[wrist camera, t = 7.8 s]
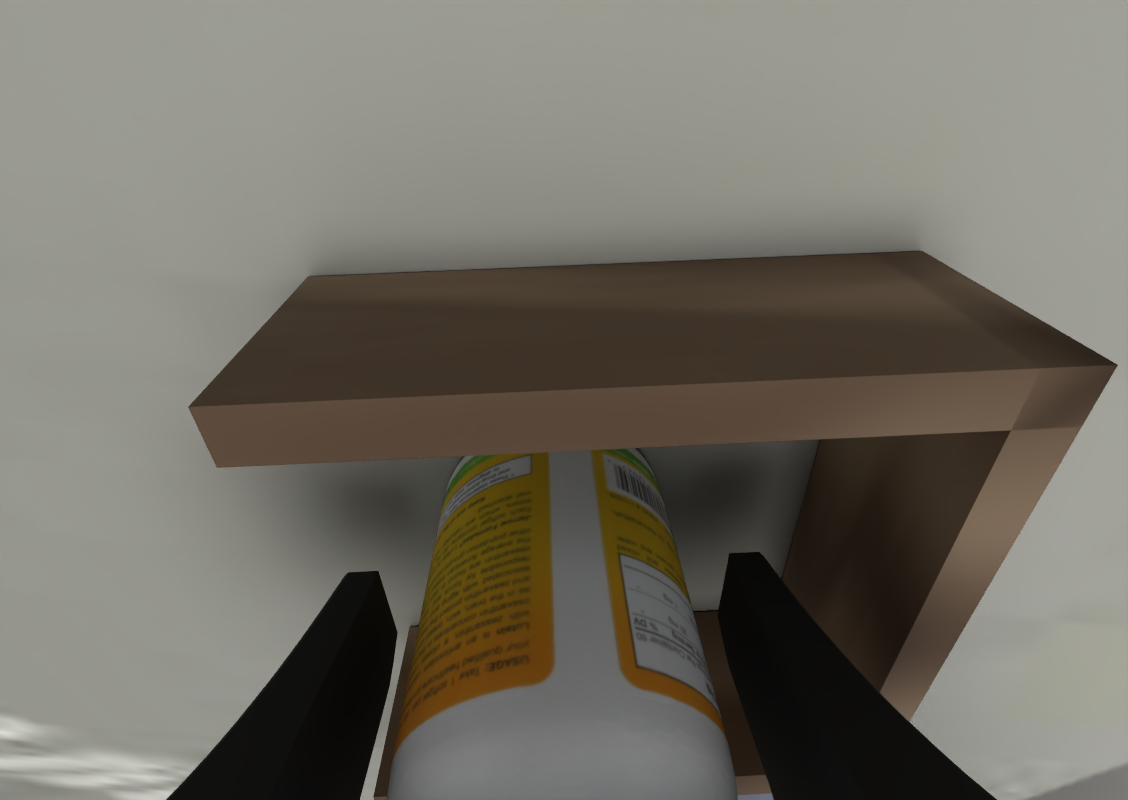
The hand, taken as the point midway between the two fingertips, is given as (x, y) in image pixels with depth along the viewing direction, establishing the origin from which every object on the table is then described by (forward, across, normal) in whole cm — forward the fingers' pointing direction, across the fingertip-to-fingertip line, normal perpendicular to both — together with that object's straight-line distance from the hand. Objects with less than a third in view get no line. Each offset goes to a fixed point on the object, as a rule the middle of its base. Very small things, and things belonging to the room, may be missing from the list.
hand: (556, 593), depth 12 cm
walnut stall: (+3, -2, 0) cm, 4 cm away
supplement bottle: (+3, 0, 0) cm, 3 cm away
